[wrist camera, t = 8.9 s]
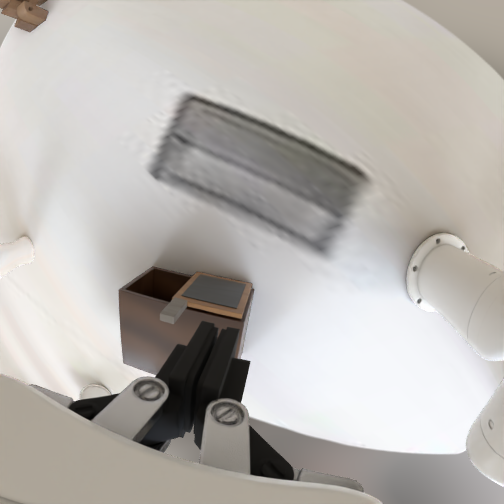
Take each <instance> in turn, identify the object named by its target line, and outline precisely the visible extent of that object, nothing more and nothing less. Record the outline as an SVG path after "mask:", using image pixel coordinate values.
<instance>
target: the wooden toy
mask: <svg viewBox="0 0 504 504" xmlns="http://www.w3.org/2000/svg"><path fill="white" fill-rule="evenodd" d="M45 1H47V0H0V8H1V9H3V10H2V12H1V13H2V14H4V15H7V16H10V17H13V18H15V19H17V21H16V23H15V27H17V28H20V29H23V30H25V31H28V32H31V31H32V30H33V29H35V28H36V27H37V26H38V25H40V24H41V23H42V22H44V21H45V20H46V17H47V14H48V11H46V10H44V9H42V8H40V7H38V6H36V5H39V6H40V5H41V4H43V3H44V2H45Z"/></svg>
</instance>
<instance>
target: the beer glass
mask: <svg viewBox="0 0 504 504" xmlns="http://www.w3.org/2000/svg"><path fill="white" fill-rule="evenodd" d="M34 256H35V253H34V247H33V244H32V242H31V240H30V239H29V238H28V237H26V236H24V237H21V238H20V239H18V240H16V241H14V242H11V243H0V279H2V278H3V277H5V276H6V275H7V274H9V273H10V272H11V271H13V270H14V269H15V268H17V267H19V266H21V265H26V264H31V263H32V262H33V260H34Z"/></svg>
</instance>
